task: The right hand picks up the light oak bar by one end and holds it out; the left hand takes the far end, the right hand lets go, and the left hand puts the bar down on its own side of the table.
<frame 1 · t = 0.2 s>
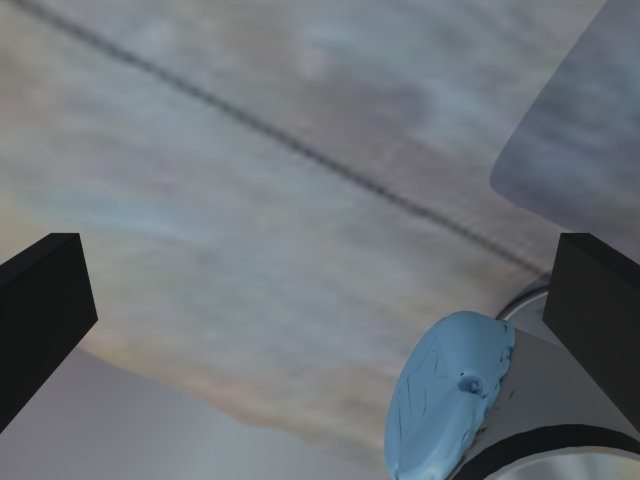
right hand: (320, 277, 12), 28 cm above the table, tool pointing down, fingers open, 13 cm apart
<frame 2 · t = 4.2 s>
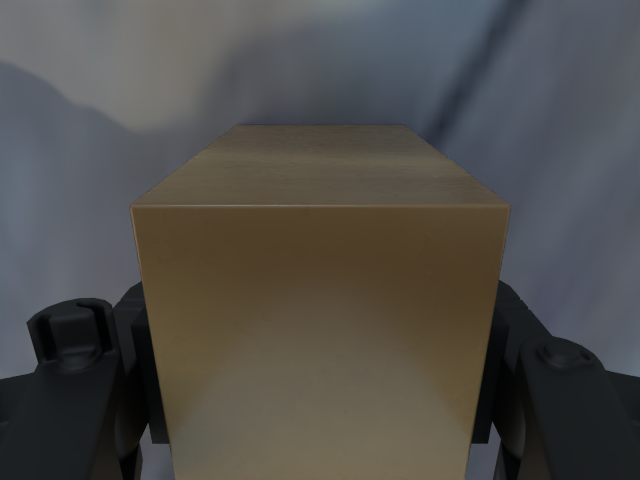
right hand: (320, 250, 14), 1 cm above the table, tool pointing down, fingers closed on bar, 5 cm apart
bar: (320, 418, 17), on the table, touching right hand
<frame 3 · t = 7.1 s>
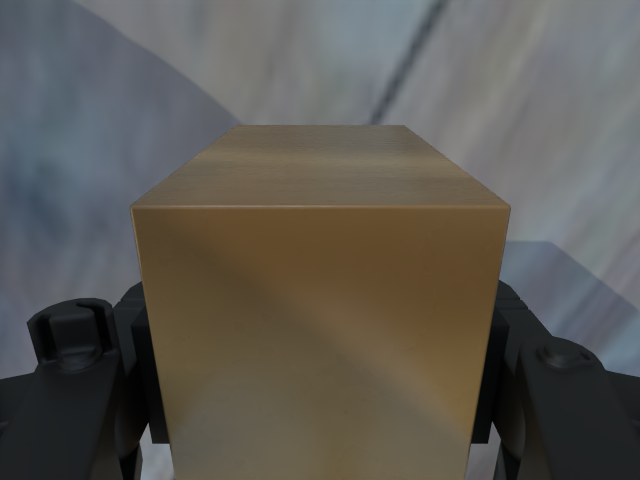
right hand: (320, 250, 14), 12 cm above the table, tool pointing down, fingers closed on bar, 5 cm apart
bar: (320, 418, 17), point 11 cm above the table, touching right hand
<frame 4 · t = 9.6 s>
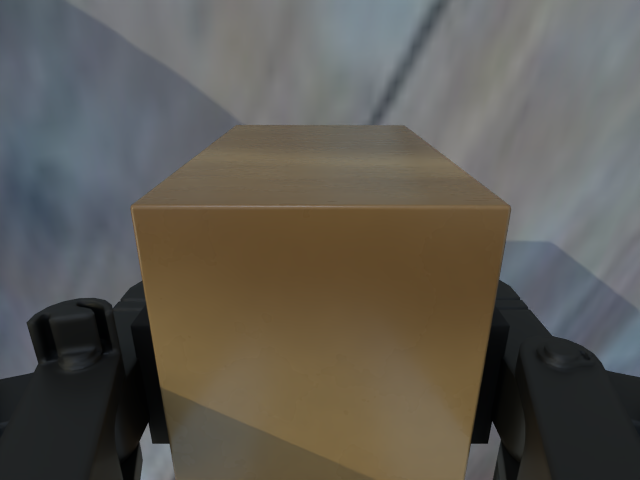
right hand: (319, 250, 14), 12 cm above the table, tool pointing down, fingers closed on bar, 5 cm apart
bar: (319, 418, 17), point 11 cm above the table, touching right hand, left hand
when the right hand's fingers open (12 cm above the table, at t = 10.2 s): bar stays where it is, held by the left hand.
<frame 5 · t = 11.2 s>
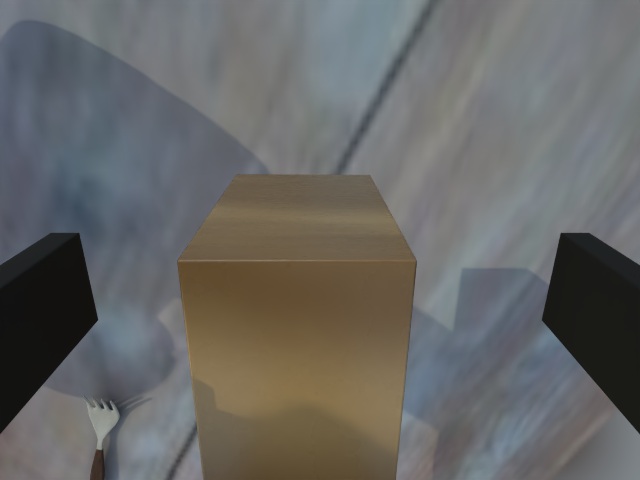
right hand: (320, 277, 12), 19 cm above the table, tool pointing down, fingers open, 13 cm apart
bar: (304, 410, 21), point 14 cm above the table, touching left hand
fork: (102, 451, 40), on the table
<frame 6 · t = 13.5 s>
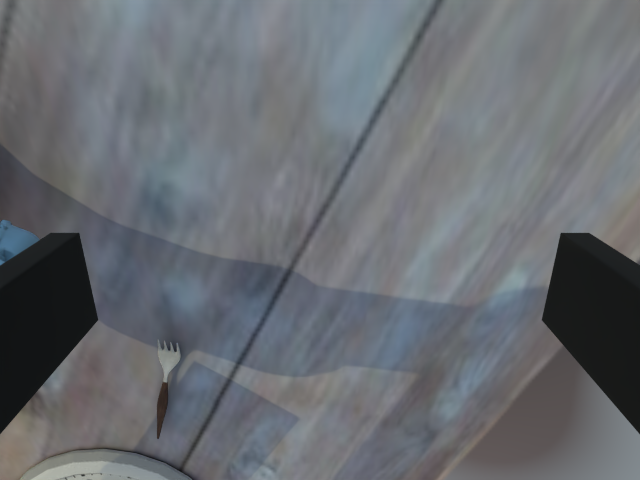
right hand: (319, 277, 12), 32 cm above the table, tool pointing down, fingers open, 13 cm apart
fork: (166, 385, 53), on the table
when the left hand's fingers open (2 cm above the table, at t = 17.5 s): bar drops 1 cm, on the table.
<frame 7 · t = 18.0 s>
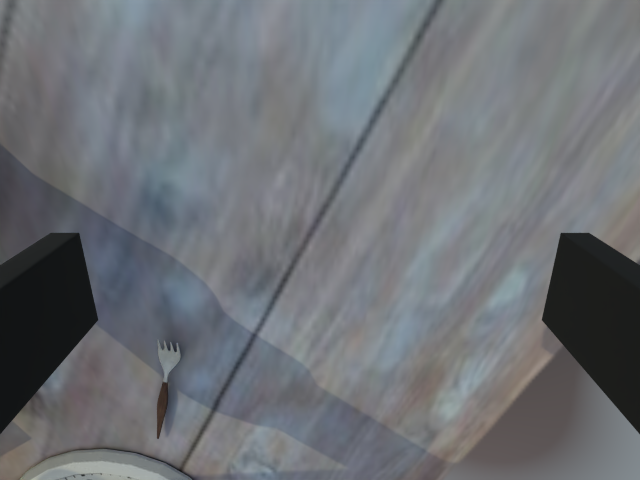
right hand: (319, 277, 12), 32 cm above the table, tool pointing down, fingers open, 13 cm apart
fork: (166, 385, 53), on the table
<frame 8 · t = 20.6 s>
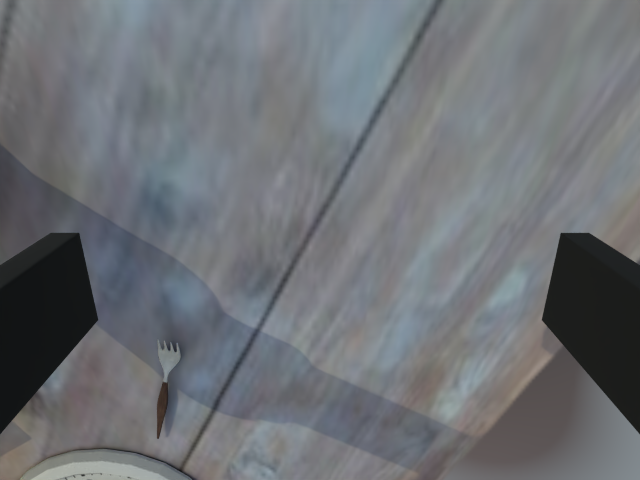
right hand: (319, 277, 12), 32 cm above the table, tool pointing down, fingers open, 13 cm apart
fork: (166, 385, 53), on the table
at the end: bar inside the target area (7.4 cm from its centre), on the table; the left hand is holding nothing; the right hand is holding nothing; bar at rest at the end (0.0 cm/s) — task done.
